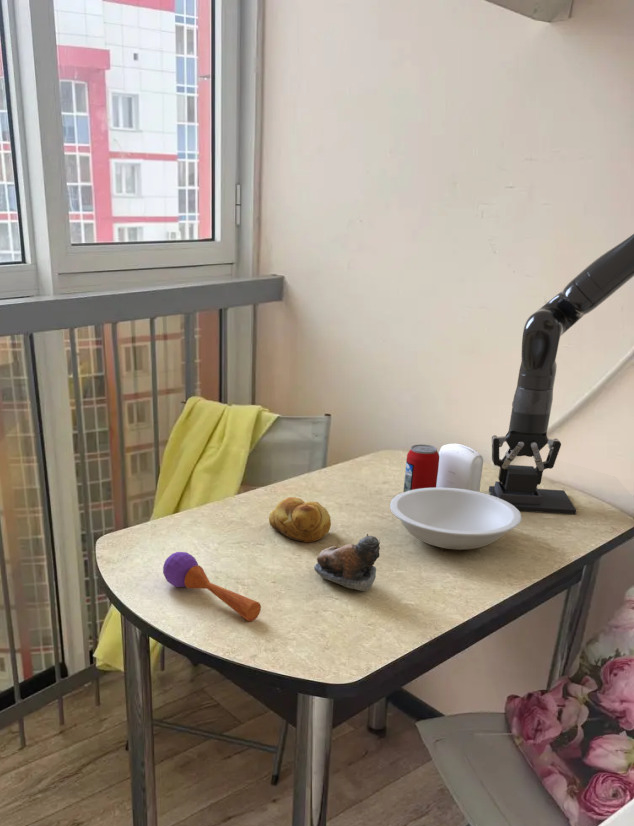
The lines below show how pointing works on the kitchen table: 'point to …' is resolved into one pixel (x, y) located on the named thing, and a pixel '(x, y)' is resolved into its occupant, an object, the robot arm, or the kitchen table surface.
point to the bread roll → (300, 519)
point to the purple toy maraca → (205, 584)
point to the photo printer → (459, 467)
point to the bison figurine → (350, 563)
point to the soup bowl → (454, 516)
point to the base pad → (535, 500)
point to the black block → (521, 479)
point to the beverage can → (421, 467)
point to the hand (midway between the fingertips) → (518, 484)
